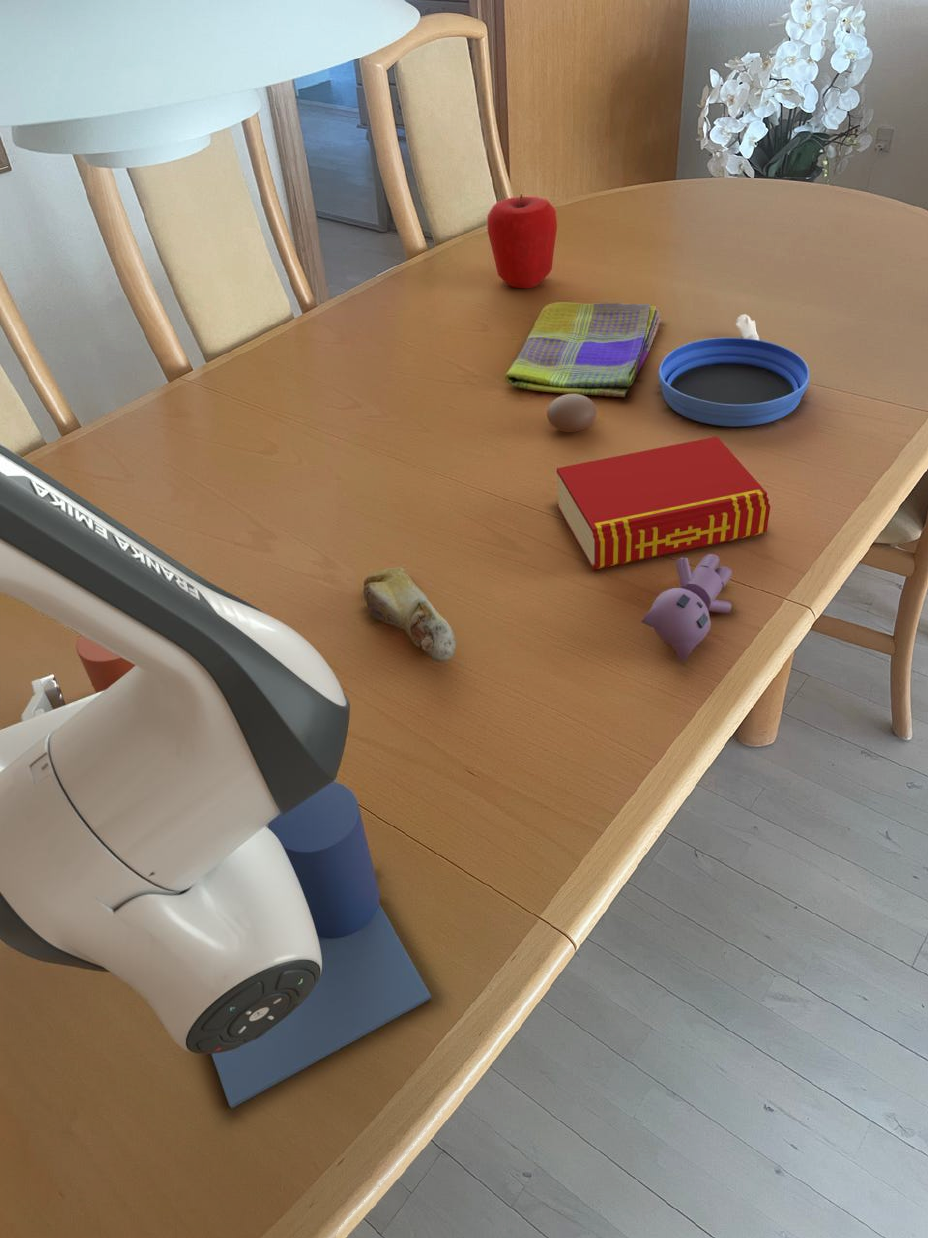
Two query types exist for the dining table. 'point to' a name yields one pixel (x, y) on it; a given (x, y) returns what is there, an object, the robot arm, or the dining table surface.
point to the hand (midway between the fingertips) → (115, 658)
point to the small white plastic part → (747, 327)
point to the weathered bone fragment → (409, 612)
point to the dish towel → (585, 348)
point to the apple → (522, 239)
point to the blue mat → (329, 1010)
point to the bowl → (733, 381)
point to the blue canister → (331, 860)
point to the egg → (571, 412)
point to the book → (660, 502)
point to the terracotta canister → (101, 664)
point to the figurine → (689, 605)
